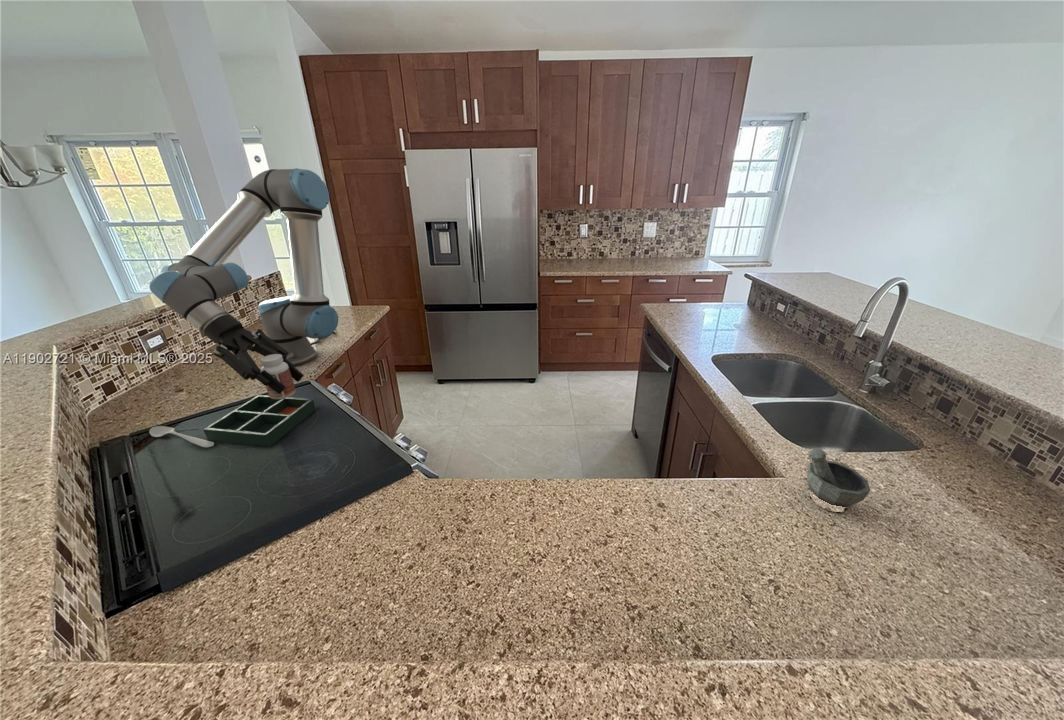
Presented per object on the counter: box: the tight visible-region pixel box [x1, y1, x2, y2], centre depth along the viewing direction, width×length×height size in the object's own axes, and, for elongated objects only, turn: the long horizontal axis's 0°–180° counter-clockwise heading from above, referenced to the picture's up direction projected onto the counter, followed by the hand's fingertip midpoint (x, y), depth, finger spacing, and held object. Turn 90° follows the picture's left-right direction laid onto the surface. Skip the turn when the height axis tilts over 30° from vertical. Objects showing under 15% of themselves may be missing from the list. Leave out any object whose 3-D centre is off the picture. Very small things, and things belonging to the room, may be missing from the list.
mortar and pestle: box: [806, 448, 871, 508], centre depth 74 cm, size 11×9×12 cm
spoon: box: [148, 425, 215, 449], centre depth 94 cm, size 4×21×2 cm, turn 74°
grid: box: [202, 394, 317, 448], centre depth 100 cm, size 17×17×4 cm
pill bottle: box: [260, 354, 297, 399], centre depth 98 cm, size 6×6×11 cm
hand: (291, 384), depth 99 cm, fingers closed on pill bottle, 6 cm apart
